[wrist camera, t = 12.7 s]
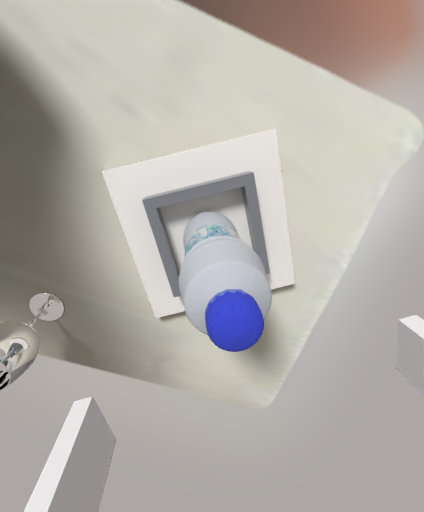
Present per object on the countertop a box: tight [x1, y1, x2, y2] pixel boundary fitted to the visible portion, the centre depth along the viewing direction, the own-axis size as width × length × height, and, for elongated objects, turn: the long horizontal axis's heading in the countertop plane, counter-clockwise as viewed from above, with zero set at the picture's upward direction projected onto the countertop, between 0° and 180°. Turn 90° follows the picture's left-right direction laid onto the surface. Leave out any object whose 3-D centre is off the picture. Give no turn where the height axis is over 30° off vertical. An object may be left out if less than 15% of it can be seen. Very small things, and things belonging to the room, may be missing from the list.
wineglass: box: [0, 293, 64, 391], centre depth 30 cm, size 6×6×12 cm
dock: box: [101, 128, 295, 318], centre depth 32 cm, size 20×20×4 cm
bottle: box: [179, 212, 272, 352], centre depth 23 cm, size 7×7×20 cm
